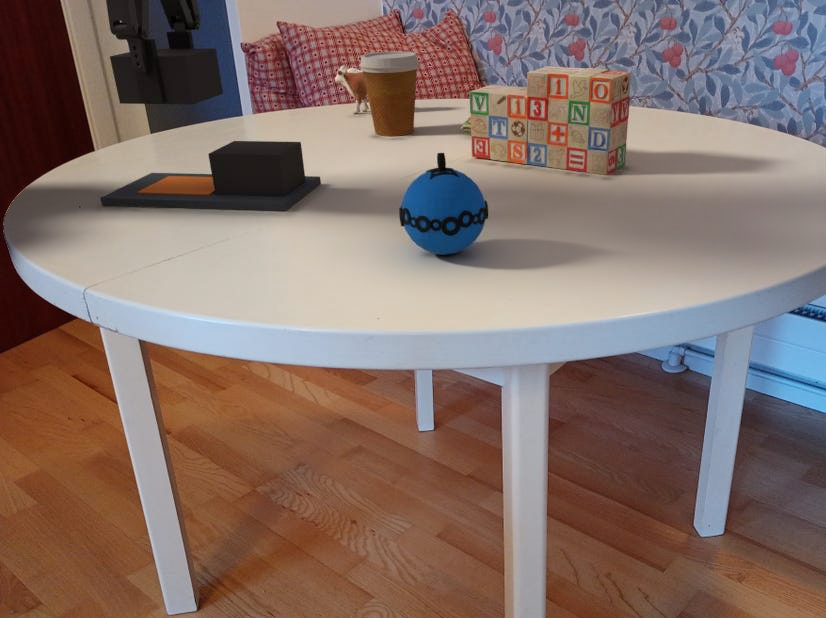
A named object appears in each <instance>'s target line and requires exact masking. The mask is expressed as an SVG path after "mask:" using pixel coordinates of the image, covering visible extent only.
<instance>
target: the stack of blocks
mask: <svg viewBox="0 0 826 618" xmlns="http://www.w3.org/2000/svg"><path fill="white" fill-rule="evenodd" d="M526 74H527V75H526V86H512V85H510V86H509V85H501V84H500V85H499V84H489V85H485V86H483V87H480V88H477V89H474V90H470V91H469V113H470V117H471V134H470V135H471V157H472V158H480V159H488V160H489V159H490V160H491V161H500V162H509V163H516V164H523V165H532V166H537V167H539V166H540V167H547V168H554V169H561V170H569V171H576V172H582V173H589V174H596V175H604V176H608V175H610V174H612V173H613V172H615V171H617V170H618V169H620V168H622V167H623V166H625V165H626V160H627V159H626V158H627V138H628V124H629V115H630V101H631V96H630V95H631V80H632V72H631V71H619V70H609V68H597V67H587V68H582V67H564V66H549V65H547V66H544V67H541V68H537V69H535V70H531V71H527V73H526Z"/></svg>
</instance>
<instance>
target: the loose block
mask: <svg viewBox="0 0 826 618" xmlns="http://www.w3.org/2000/svg"><path fill="white" fill-rule="evenodd" d="M157 53H158V60H159V65H160V70H161V76H162V81H163V86H164V91H165V97H166V102H165V103H141V101H140V96H139V91H138V86H137V81H136V76H135V72H134V69H133V66H132V61H131V56H130V51H128V52H123V53H119V54H114V55H110V56H109V60H110V64H111V69H112V74H113V78H114V83H115V87H116V92H117V96H118V101H119V104H120V105H121V104H122V105H123V104H124V105H125V104H126V105H192V106H193V105H196V104H199V103H201V102H204V101H207V100H210V99H212V98H214V97H215V98H216V97H219V96H220V95H224V92H223V85H222V78H221V73H220V66H219V60H218V55H217V48H194V49H169V48H157Z"/></svg>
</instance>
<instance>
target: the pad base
mask: <svg viewBox="0 0 826 618" xmlns="http://www.w3.org/2000/svg"><path fill="white" fill-rule="evenodd" d="M207 155H208V159H209V160H208V161H209V167H210V173H184V172H183V173H179V172H150V173H148V174H146V175H144V176H142V177H140V178H138V179H136V180H133V181H132V182H129V183H127V184H126V185H122V187H119V188H117V189H115V190H113V191H111V192H108V193H106V194H104V195H103V196H101V197H99V200H100V204H101V206H107V207H134V208H135V207H136V208H137V207H139V208H167V209H169V208H172V209H205V210H232V211H233V210H237V211H239V210H240V211H267V212H268V211H271V212H273V211H274V212H287V211H288V210H289V209H290V208H292V207H293V206H294V205H296V204H297V203H298V202H299V201H300V200H302V199H303V198H305V197H306V196H307V195H309V194H310V193H311V192H313V191H314V190H316V189H317V188H318V187H319V186H321V184H322V180H321V176H314V175H313V176H312V175H310V176H309V175H306V172H305V165H304V157H303V148H302V142H301V141H269V140H267V141H266V140H265V141H264V140H263V141H261V140H233V141H231V142H229V143H227V144H225V145H223V146H221V147H219V148H217V149H215V150H213V151H211V152H209V153H208V154H207Z"/></svg>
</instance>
